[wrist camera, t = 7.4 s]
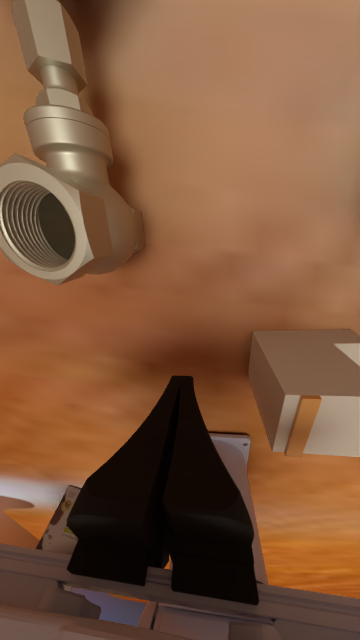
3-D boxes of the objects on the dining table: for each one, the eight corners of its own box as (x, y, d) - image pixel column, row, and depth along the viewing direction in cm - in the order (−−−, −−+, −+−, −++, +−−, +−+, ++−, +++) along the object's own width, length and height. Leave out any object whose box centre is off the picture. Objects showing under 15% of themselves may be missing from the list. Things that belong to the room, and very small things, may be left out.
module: (331, 377, 15) (410, 464, 9) (247, 376, 16) (273, 455, 10) (349, 329, 13) (461, 402, 7) (252, 331, 14) (287, 398, 8)
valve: (171, 263, 12) (156, -54, 7) (143, 291, 6) (-77, -1540, 1) (80, 264, 13) (5, -24, 8) (-21, 291, 7) (-626, -852, 2)
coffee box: (68, 483, 29) (-65, 735, 14) (106, 496, 29) (15, 749, 15) (61, 504, 33) (-47, 716, 18) (95, 514, 33) (15, 728, 19)
